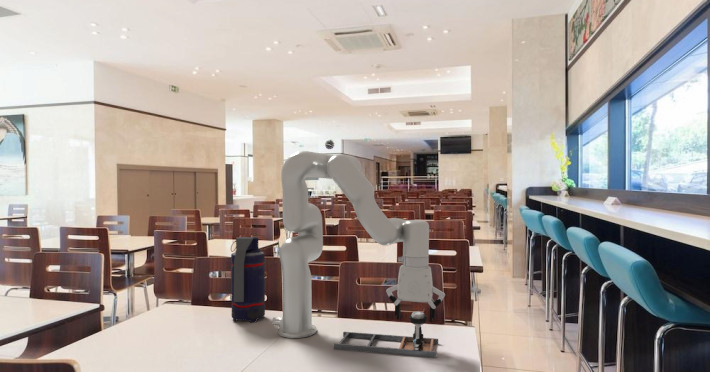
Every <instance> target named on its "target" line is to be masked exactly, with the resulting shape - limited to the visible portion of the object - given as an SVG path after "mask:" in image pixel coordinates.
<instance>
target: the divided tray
mask: <svg viewBox="0 0 710 372" xmlns="http://www.w3.org/2000/svg"><path fill="white" fill-rule="evenodd" d="M342 333H343V334H342V339H341V340H340V341H339V343H336V342H335V343H333V350H343V351H353V352H354V351H355V352H365V353H375V354H376V353H377V354H389V355H400V356H411V357H412V356H413V357H423V358H434V359H435V358H437V351H434V350H433V349H434V345H439V338H432V337H423V345H422V346H421V348H420V349H418V350H415V349H414V346H413V340H414V338H413V336H407V335H405V336H404V335H396V334H395V335H394V334H393V335H392V334H381V333H379V334H378V333H368V332H367V333H366V332H365V333H364V332H356V331H355V332H353V331H352V332H351V331H343V332H342ZM349 338H352V339H354V338H355V339H364V340H365V339H366V340H367V339H368V340H369V342H368V343H367V344H366V345H361V344H351V343H350V344H346V342H348V340H349ZM376 340H379V341H391V342H400V345H399V347H398V348H397V347H387V346H386V347H383V346H374V343H375V342H376Z"/></svg>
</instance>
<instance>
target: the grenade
mask: <svg viewBox="0 0 710 372" xmlns="http://www.w3.org/2000/svg"><path fill="white" fill-rule="evenodd" d="M234 244H235V247H234V249H233V245H234ZM232 249H233V250H232ZM230 251H231V255H230V263H231V265H230V266H231V268H230V273H231V274H230V276H231V277H230V278H231V280H230V281H231V283H230V284H231V287H230V288H231V291H230V292H231V297H230V299H231V300H230V301H231V318H232V321H234V322H237V321H249V323H251V324H253V323H256V322H257V320H260V319H261V318H263V317H265V315H266V283H265V282H266V280H265V279H266V277H265V276H266V273H265V270H266V268H265V261H266V260H265V259H266V258H265V255H266V254H265V251H261V249H260V248H259V237H257V236H254V237H252V236H239V237H236V238H235V240H234V241H232V243H231V245H230ZM234 251H235V252H234Z"/></svg>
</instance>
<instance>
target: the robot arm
mask: <svg viewBox="0 0 710 372" xmlns="http://www.w3.org/2000/svg"><path fill="white" fill-rule="evenodd" d="M362 171H363V168H362V163H361V162H360V160H359V159H358V158H357V157H356V156H354V155H349V154H343V153H340V154H330V153H322V152H320V153H319V152H314V151H308V150H307V151H306V150H303V151H302V150H301V151H296V152H294V153H293V154H291V155H289V156H288V157H287V158H286V160H285V161H284V163H283V165H282V168H281V176H280V178H281V190H282V197H281V198H282V223H283V226H284V229H285V230H286V231H287V232H290V233H296V234H297V235H296V236H292V237H290V238H287V239H286V240H285V241H283V243H282V244H281V246H280V249H279V260H280V265H281V272H282V273H281V275H282V277H281V278H282V317H272V319H271V323H272V326H279V328H278V331H277V334H278V335H279V336H281V337H283V338H288V339H302V338H306V337H311V336H313V335H314V334H316V333H317V328H318V327H317V326H316V325H315V324H313V323H312V322H313V319H312V318H313V316H312V315H313V314H312V313H313V312H312V311H313V310H312V308H313V307H312V302H313V300H312V273H311V269H310V266H309V263H311V262H314V261H315V260H317V259H319V258H320V256H321V255H322V252H323V248H324V247H323V246H324V236H323V234H324V232H323V216H322V213H321V210H320V208H319V207H318V206H316V205H315V204H313V203H311V202H309V189H308V188H309V187H308V185H307V183H306V179H307V178H316V179H317V178H318V179H329V180H332V181H334V183H335V184H336V185H337V187H338V188H339V189H340V190H341V192H342V193H343V194H344V195H345V197H346V198H347V199H348V200H349V202H350V203H351V205H352V207H353V210H354V212H355V215H356V217H357V219H358V221H359V222H360V224H361V225H362V227H363V228H364V230H365V231H366V232H367V234H368V235H369V236H370V238H371V239H373V241H375V242H376V243H377V244H378V245H381V246H386V247H388V246H391V245H393V244H395V243H400V242H401V243H402V246H403V247H402V256H398V258H397V262H399V263H401V264H402V265H400V266H399V270H398V276H397V277H398V278H397V284H395V285H392V286H390V287H389V288H387V289H386V291H385V292H386V294H387V296H388V299H389V301H391V303H393V305H394V316H396V320H400V318H401V309H402V308H401V307H402V306H401V305H402V304H401V302H412V303H425V304H428V305H429V322H430V323H433V320H435V319H436V308H437V307H438V306H440V304H441V303H442V301H443V300H444V298H445V296H446V294H445V292H443V291H442V290H440V289H438V288H437V287H435V286H434V285H433V275H432V273H433V272H432V268H431V266H429V259H430V258H429V257H430V253H429V251H430V250H429V249H430V247H429V243H430V225H429V223H428V222H427V220H426V221H425V220H423V219H409V220H407V219H402V218H398V217H391V218H388V217H387V215H386V214H385V213H384V212H383V211H382V209H381V208H380V206H379V205H378V203H377V201H376V198H375V188H374V186H373V184H372V183H371V182H370V181H369V180H368V178H367V177H366V176H365V174H364V173H363V172H362ZM395 291H397V292H396V294H397V297H396V296H395V295H394V294H393V292H395ZM433 293H434V294H436V295H437V296H438V298H437V299H436V300H434V299H433V295H434V294H433Z"/></svg>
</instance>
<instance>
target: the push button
mask: <svg viewBox="0 0 710 372" xmlns="http://www.w3.org/2000/svg"><path fill="white" fill-rule="evenodd" d="M408 318H409V322H410V323H411V324H413V325H414V332H413V333H412V337H413V338H414V340H413V346H414V349H415V350H418V349H420V348H421V346H422V345H423V338H424V333H423V332H422V331H423V330H422V325H424V324H426V323H427V319H428V316H427V315H425V313H424V312H422V311H412V312H411V314H410V315H408Z"/></svg>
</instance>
